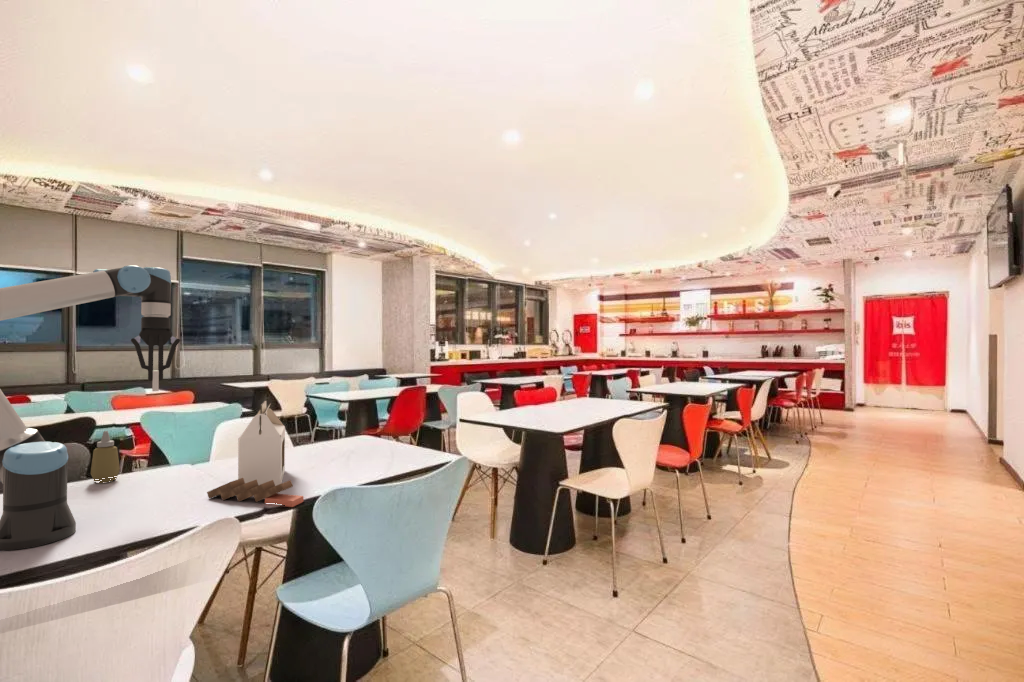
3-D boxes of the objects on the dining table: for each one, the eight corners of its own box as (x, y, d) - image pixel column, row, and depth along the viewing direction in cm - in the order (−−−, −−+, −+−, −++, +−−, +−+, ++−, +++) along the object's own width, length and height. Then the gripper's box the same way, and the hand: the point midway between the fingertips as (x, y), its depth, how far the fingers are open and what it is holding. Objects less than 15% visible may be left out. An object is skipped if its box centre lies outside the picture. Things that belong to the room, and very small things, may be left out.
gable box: (281, 486, 170) (281, 405, 170) (237, 490, 165) (238, 407, 165) (284, 470, 190) (285, 398, 190) (246, 473, 185) (247, 400, 185)
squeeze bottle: (123, 480, 175) (124, 430, 175) (95, 486, 168) (95, 434, 168) (114, 477, 179) (115, 428, 180) (86, 482, 173) (87, 431, 173)
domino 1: (206, 492, 155) (230, 481, 153) (219, 487, 160) (243, 477, 158) (209, 498, 155) (232, 488, 153) (222, 494, 160) (245, 484, 158)
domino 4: (253, 495, 151) (281, 483, 150) (263, 491, 156) (290, 479, 155) (255, 502, 151) (283, 490, 150) (265, 497, 156) (293, 486, 155)
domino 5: (264, 498, 150) (292, 500, 148) (276, 493, 155) (303, 495, 153) (264, 505, 150) (292, 508, 148) (276, 500, 155) (303, 503, 153)
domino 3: (236, 495, 152) (262, 483, 150) (247, 490, 157) (273, 479, 155) (238, 501, 152) (264, 490, 150) (249, 497, 157) (275, 486, 155)
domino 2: (220, 493, 154) (244, 483, 151) (232, 489, 159) (256, 479, 156) (222, 500, 153) (246, 490, 151) (235, 495, 158) (258, 485, 156)
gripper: (179, 317, 162) (179, 388, 162) (130, 316, 154) (129, 391, 154) (181, 317, 156) (181, 390, 156) (130, 315, 148) (129, 393, 148)
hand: (155, 390), depth 155 cm, fingers closed
